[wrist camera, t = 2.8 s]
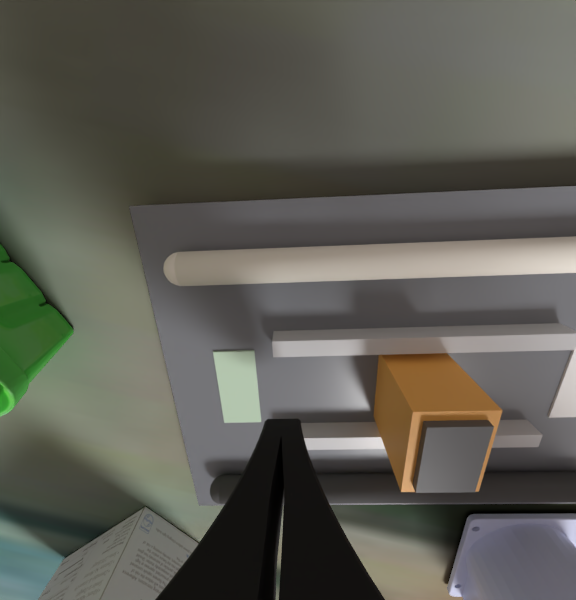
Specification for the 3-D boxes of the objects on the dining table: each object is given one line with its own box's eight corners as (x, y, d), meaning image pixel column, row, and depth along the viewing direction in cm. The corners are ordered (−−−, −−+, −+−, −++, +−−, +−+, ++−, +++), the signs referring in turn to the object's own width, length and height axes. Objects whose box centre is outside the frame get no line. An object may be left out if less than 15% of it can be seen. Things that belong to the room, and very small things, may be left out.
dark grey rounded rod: (579, 482, 16) (604, 508, 15) (215, 485, 17) (208, 510, 15) (587, 465, 15) (614, 490, 14) (212, 469, 16) (204, 493, 15)
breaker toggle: (431, 415, 14) (483, 499, 10) (373, 416, 15) (403, 500, 11) (442, 348, 13) (509, 417, 9) (379, 350, 13) (416, 418, 9)
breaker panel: (568, 479, 18) (609, 521, 16) (206, 482, 19) (193, 522, 16) (703, 179, 12) (807, 175, 9) (147, 204, 12) (113, 206, 10)
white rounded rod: (683, 263, 11) (734, 272, 10) (175, 281, 12) (161, 291, 11) (699, 228, 11) (755, 233, 10) (169, 249, 12) (153, 256, 10)
